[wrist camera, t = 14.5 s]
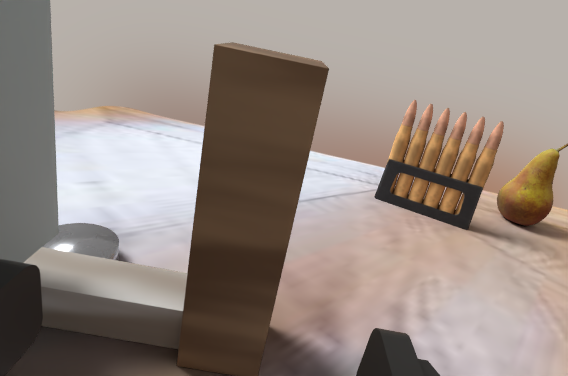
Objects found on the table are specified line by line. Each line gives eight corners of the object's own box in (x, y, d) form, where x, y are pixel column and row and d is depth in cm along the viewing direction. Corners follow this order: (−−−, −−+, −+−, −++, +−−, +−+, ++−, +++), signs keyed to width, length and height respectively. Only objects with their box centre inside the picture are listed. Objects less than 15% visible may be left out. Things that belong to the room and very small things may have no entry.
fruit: (502, 208, 51) (542, 122, 46) (547, 229, 47) (596, 136, 42) (481, 212, 48) (522, 120, 43) (528, 235, 43) (578, 136, 39)
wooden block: (257, 379, 19) (328, 68, 13) (-64, 325, 18) (-134, -29, 12) (263, 322, 22) (321, 61, 17) (-3, 275, 22) (-35, -14, 16)
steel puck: (87, 235, 27) (87, 216, 27) (134, 264, 25) (135, 244, 25) (11, 263, 23) (9, 241, 23) (60, 301, 21) (59, 277, 21)
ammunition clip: (374, 198, 45) (405, 98, 40) (377, 193, 47) (407, 97, 42) (467, 230, 41) (513, 124, 37) (467, 224, 43) (511, 122, 39)
